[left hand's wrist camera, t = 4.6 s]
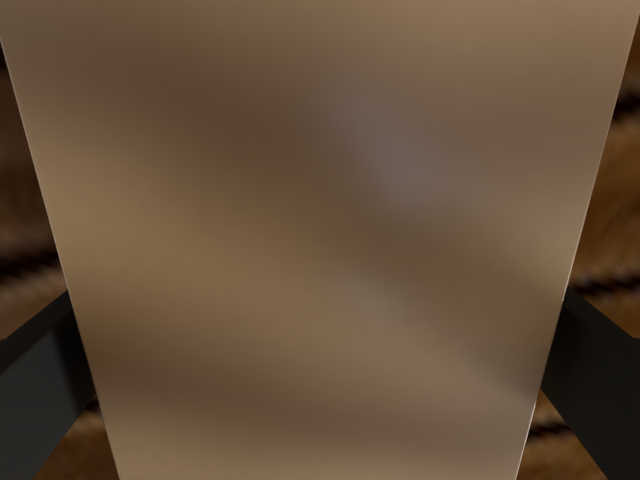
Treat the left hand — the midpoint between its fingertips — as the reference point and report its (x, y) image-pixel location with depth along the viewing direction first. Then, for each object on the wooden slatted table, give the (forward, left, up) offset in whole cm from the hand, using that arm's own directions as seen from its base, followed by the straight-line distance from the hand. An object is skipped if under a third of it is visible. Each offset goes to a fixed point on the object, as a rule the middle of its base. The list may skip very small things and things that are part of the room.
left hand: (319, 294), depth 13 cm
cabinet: (+2, +6, -5) cm, 8 cm away
